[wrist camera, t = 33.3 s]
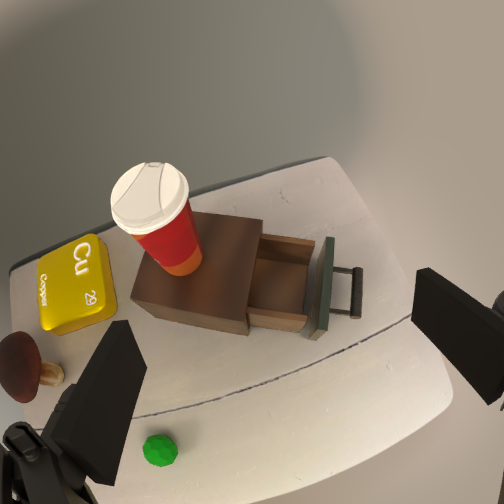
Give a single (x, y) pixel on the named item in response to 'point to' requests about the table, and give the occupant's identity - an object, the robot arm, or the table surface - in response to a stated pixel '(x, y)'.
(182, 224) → the paper cup
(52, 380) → the decorative mushroom
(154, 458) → the polyhedron
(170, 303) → the cabinet
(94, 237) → the element tile
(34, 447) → the robot arm
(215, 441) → the table surface
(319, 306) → the drawer
